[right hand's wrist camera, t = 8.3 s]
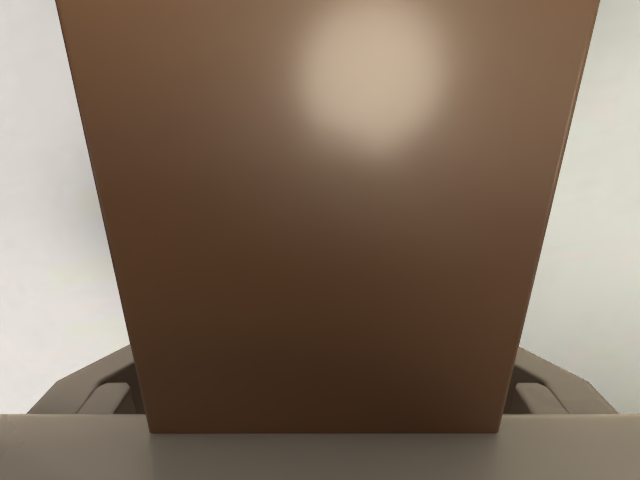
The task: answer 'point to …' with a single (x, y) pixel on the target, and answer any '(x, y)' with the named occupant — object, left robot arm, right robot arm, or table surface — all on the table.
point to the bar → (325, 200)
